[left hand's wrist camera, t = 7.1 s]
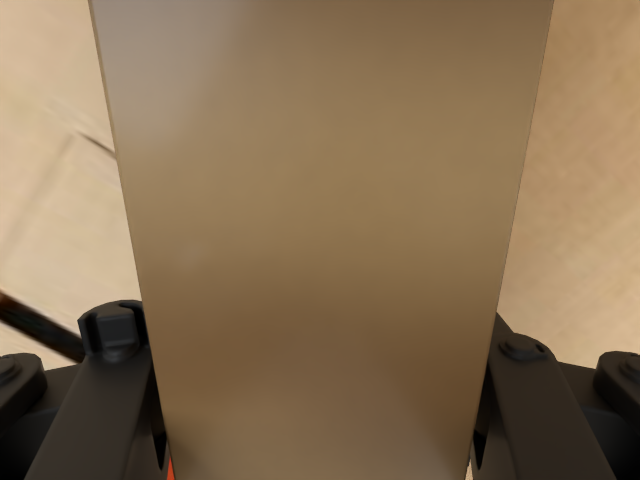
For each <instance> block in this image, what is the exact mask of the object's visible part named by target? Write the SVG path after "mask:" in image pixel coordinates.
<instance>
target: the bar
mask: <svg viewBox="0 0 640 480" xmlns="http://www.w3.org/2000/svg"><path fill="white" fill-rule="evenodd" d="M88 3H89V9H90V14H91V20H92V26H93V31H94V37H95V42H96V48H97V53H98V59H99V64H100V70H101V76H102V81H103V87H104V92H105V98H106V103H107V109H108V114H109V120H110V125H111V131H112V137H113V142H114V148H115V153H116V159H117V164H118V170H119V175H120V181H121V186H122V192H123V198H124V203H125V209H126V214H127V220H128V225H129V231H130V236H131V242H132V247H133V253H134V259H135V264H136V270H137V275H138V281H139V286H140V292H141V297H142V303H143V308H144V314H145V320H146V325H147V331H148V336H149V342H150V347H151V353H152V358H153V364H154V369H155V375H156V381H157V386H158V392H159V397H160V403H161V408H162V414H163V419H164V425H165V431H166V436H167V442H168V447H169V453H170V458H171V464H172V469H173V475H174V480H465V478H466V472H467V467H468V462H469V456H470V451H471V445H472V440H473V435H474V429H475V424H476V419H477V413H478V408H479V402H480V397H481V392H482V386H483V381H484V375H485V370H486V365H487V359H488V354H489V348H490V343H491V338H492V332H493V327H494V321H495V316H496V311H497V305H498V300H499V295H500V289H501V284H502V278H503V273H504V268H505V262H506V257H507V251H508V246H509V241H510V235H511V230H512V224H513V219H514V214H515V208H516V203H517V197H518V192H519V187H520V181H521V176H522V171H523V165H524V160H525V154H526V149H527V144H528V138H529V133H530V127H531V122H532V117H533V111H534V106H535V100H536V95H537V90H538V84H539V79H540V74H541V68H542V63H543V57H544V52H545V47H546V41H547V36H548V30H549V25H550V20H551V14H552V9H553V3H554V0H88Z"/></svg>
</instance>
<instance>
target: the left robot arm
mask: <svg viewBox="0 0 640 480" xmlns="http://www.w3.org/2000/svg"><path fill="white" fill-rule="evenodd" d="M77 321H78V325H79V329H80V333H81V337H82V341H83V345H84V349H85V353H86V357H85V359H84V361H83V363H80V364H76V365H72V366H67V367H62V368H57V369H51V370H46V371H44V368H43V365H42V361H41V358H39V357H38V356H37V355H35V354H30V353H18V354H8V355H3V356H2V357H1V356H0V480H167V476H168V468H169V460H170V453H169V447H168V442H167V436H166V431H165V425H164V419H163V414H162V408H161V403H160V397H159V392H158V386H157V381H156V375H155V369H154V364H153V358H152V353H151V347H150V342H149V336H148V331H147V325H146V320H145V314H144V308H143V303H142V301H137V300H119V301H114V302H109V303H105V304H103V305H100V306H97V307H94V308H93V309H91V310H89V311H87V312H86V313H84V314H83V315H82V316H81V317H80V318H79V319H78V320H77ZM470 459H471V467H472V475H473V480H640V355H638V354H636V353H632V352H621V351H612V352H605V353H604V354H603V355H601V356H600V357H599V360H598V363H597V367H596V369H592V368H587V367H582V366H577V365H572V364H567V363H562V362H558V361H557V360H556V358H555V356H554V354H553V353H552V352H551V351H550V349H549V348H548V347H547V346H545V345H544V344H542V343H541V342H539V341H538V340H536V339H533V338H531V337H528V336H526V335H522V334H518V333H514V332H513V331H512V330H511V329H510V328H509V326H508V325H507V324H506V323H505V321H504V320H503V319H502V318H501V317H500V315H499V314H498V313H497V312H496V316H495V321H494V327H493V332H492V338H491V343H490V348H489V354H488V359H487V365H486V370H485V375H484V381H483V386H482V392H481V397H480V402H479V408H478V413H477V419H476V424H475V429H474V435H473V440H472V445H471V451H470V456H469V462H470ZM469 462H468V466H469Z"/></svg>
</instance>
